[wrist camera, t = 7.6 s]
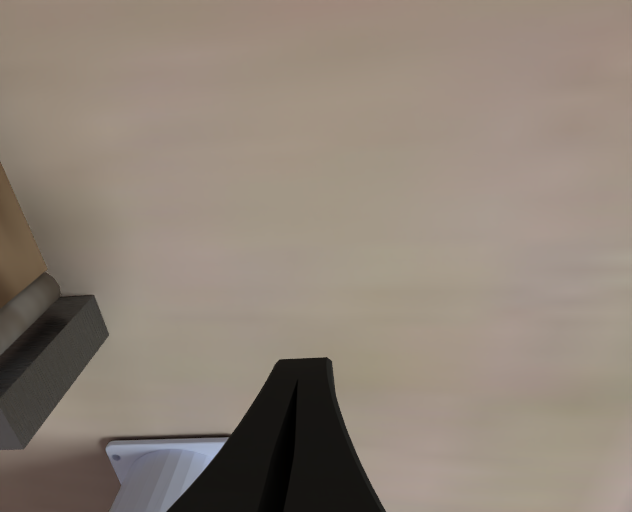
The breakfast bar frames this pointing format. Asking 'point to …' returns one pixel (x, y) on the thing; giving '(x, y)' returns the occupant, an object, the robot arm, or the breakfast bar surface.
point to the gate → (20, 271)
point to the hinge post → (46, 365)
